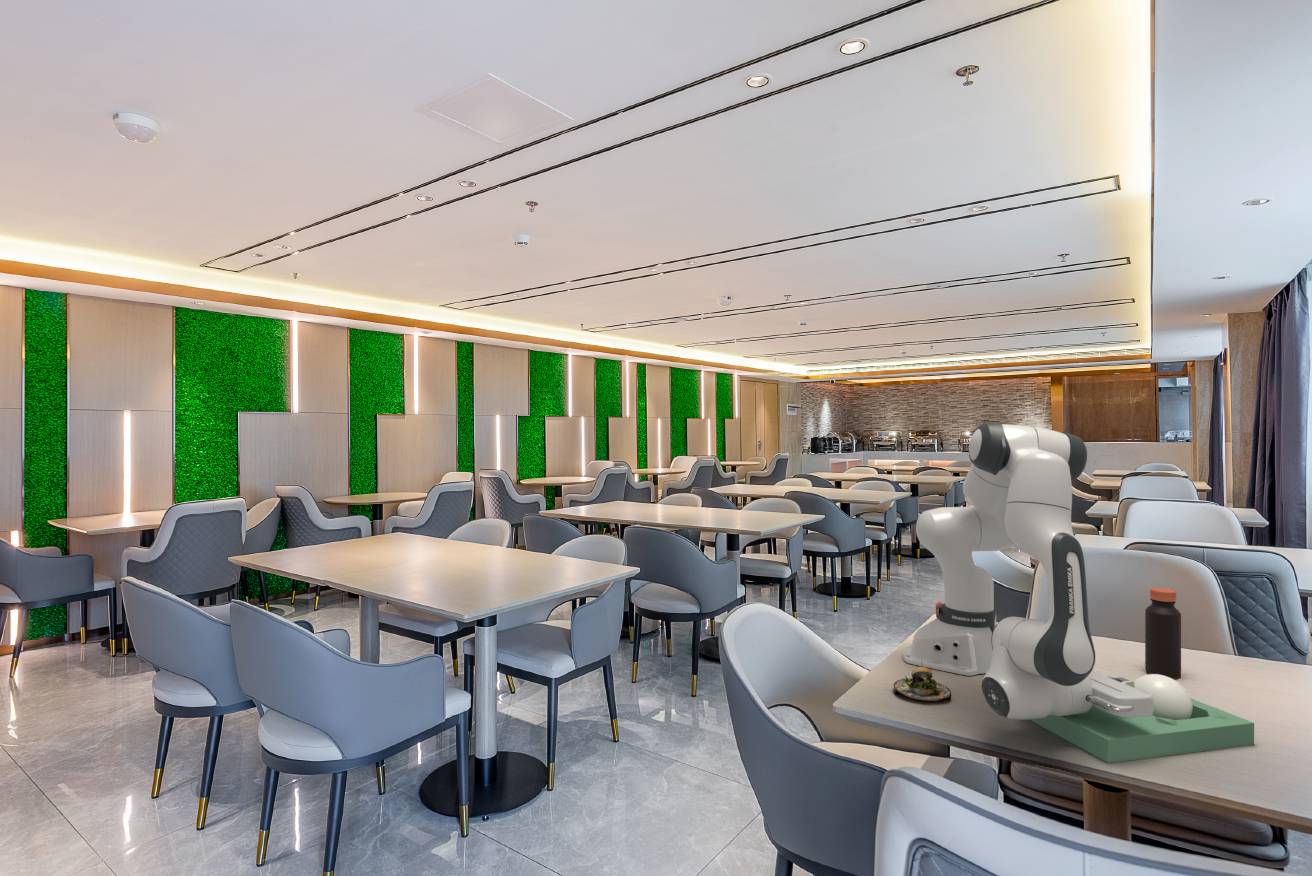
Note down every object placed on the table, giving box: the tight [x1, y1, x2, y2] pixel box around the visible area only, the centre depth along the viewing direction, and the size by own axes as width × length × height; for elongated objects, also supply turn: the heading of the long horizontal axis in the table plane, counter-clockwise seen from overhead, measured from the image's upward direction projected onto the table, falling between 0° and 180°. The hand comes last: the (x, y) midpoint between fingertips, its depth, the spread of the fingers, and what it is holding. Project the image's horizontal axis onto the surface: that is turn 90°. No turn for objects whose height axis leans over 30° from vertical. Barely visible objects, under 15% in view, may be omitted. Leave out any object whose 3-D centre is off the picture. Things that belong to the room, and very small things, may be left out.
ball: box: [1133, 673, 1193, 720], centre depth 131 cm, size 10×10×10 cm
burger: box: [893, 660, 953, 702], centre depth 147 cm, size 12×12×8 cm
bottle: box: [1144, 587, 1182, 680], centre depth 159 cm, size 7×7×20 cm
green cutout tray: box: [1028, 698, 1255, 764], centre depth 130 cm, size 32×20×4 cm, turn 102°
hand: (1127, 683), depth 129 cm, fingers closed
